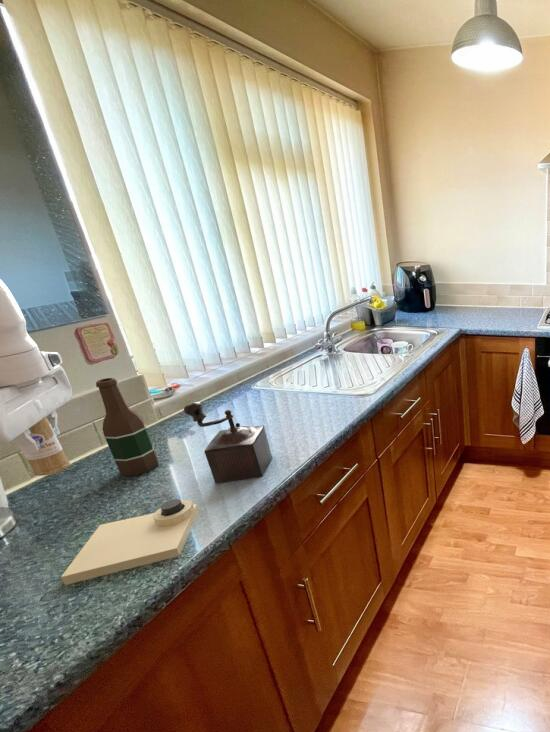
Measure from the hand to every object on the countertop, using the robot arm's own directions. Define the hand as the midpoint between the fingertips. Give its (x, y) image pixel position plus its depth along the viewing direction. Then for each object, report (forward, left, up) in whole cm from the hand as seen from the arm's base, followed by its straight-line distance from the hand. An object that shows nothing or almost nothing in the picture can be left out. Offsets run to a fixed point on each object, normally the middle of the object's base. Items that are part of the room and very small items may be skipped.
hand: (43, 444), depth 70 cm
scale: (+9, -5, -21) cm, 24 cm away
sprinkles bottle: (0, 0, -5) cm, 5 cm away
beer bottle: (-1, +28, -22) cm, 35 cm away
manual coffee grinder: (+21, +17, -22) cm, 35 cm away
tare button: (+14, -1, -18) cm, 23 cm away
